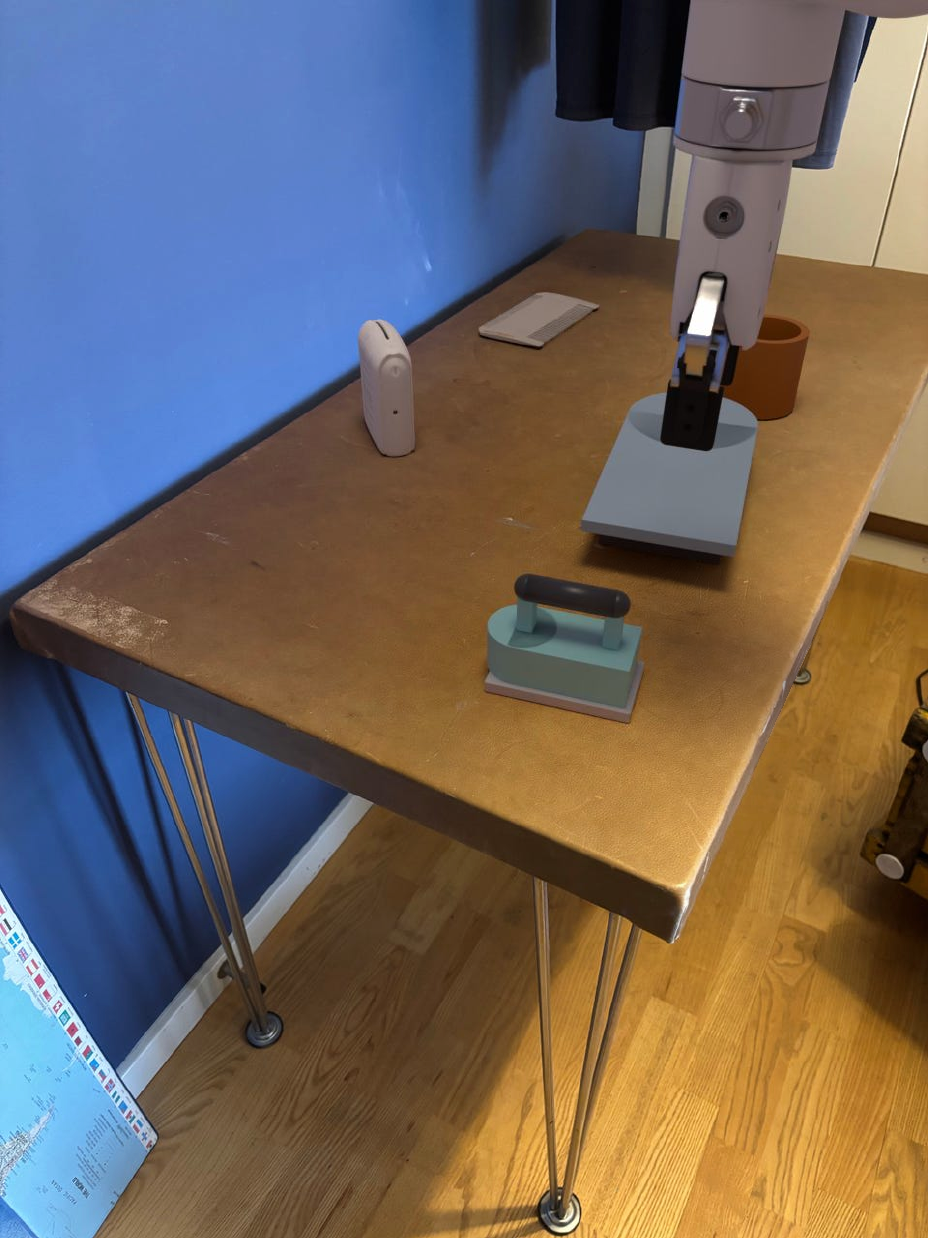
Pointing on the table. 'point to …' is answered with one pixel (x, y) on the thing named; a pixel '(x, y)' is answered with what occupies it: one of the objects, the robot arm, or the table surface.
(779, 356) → the brown cup
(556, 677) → the iron
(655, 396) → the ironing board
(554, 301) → the grooming comb
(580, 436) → the table surface
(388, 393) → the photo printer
